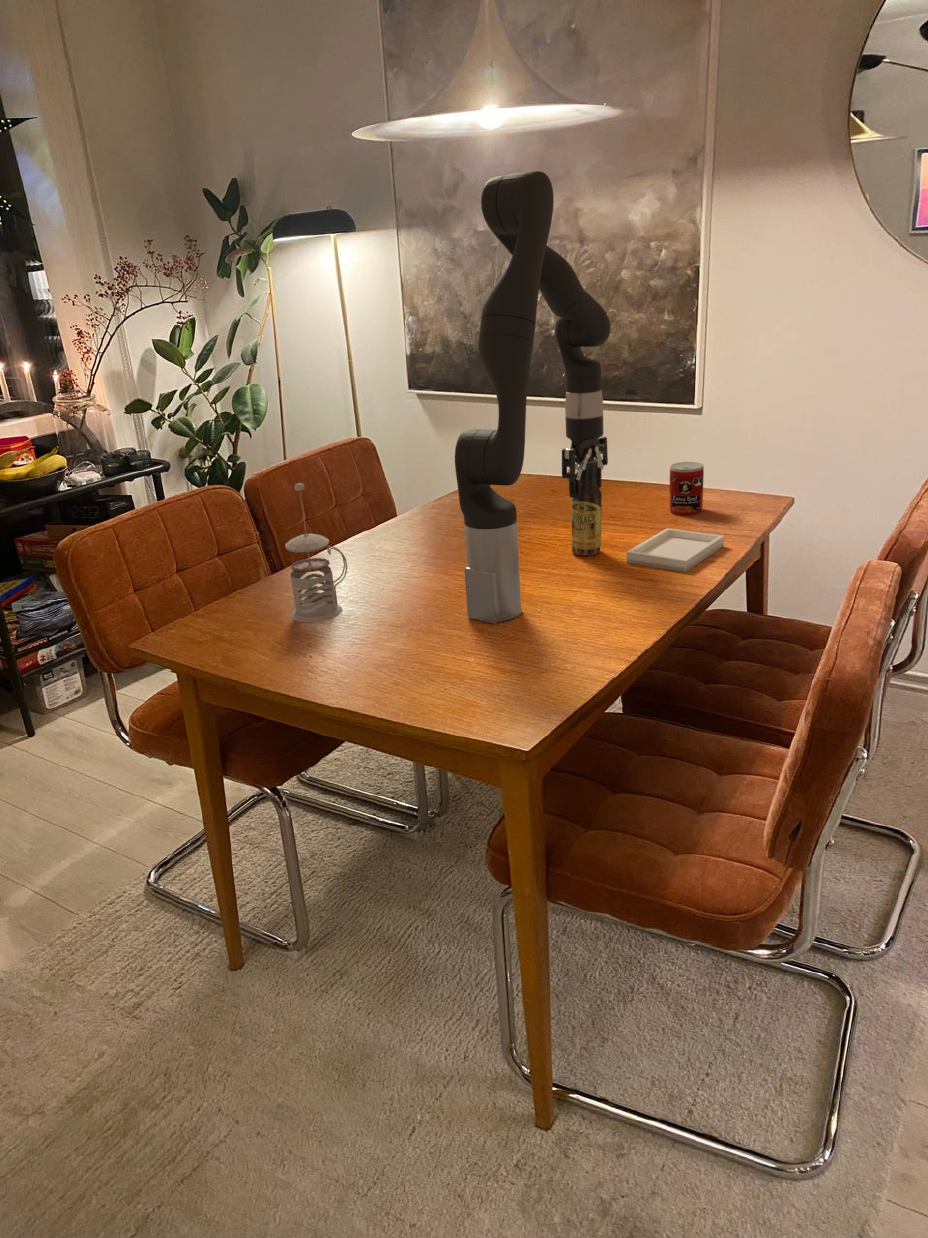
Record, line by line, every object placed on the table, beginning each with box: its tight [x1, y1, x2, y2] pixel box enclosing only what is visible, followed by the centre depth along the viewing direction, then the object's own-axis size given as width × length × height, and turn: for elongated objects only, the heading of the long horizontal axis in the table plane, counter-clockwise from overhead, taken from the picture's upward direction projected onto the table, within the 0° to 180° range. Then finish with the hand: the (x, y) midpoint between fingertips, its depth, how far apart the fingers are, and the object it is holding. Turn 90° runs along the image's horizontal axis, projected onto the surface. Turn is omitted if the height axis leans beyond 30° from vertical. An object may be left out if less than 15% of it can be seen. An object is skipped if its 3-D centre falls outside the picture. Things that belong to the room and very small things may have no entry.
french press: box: [285, 482, 348, 624], centre depth 171 cm, size 10×12×25 cm
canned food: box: [668, 461, 705, 516], centre depth 219 cm, size 8×8×11 cm
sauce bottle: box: [570, 459, 603, 557], centre depth 193 cm, size 6×6×20 cm
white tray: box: [626, 527, 725, 573], centre depth 192 cm, size 18×13×2 cm
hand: (585, 492), depth 192 cm, fingers open, 8 cm apart
